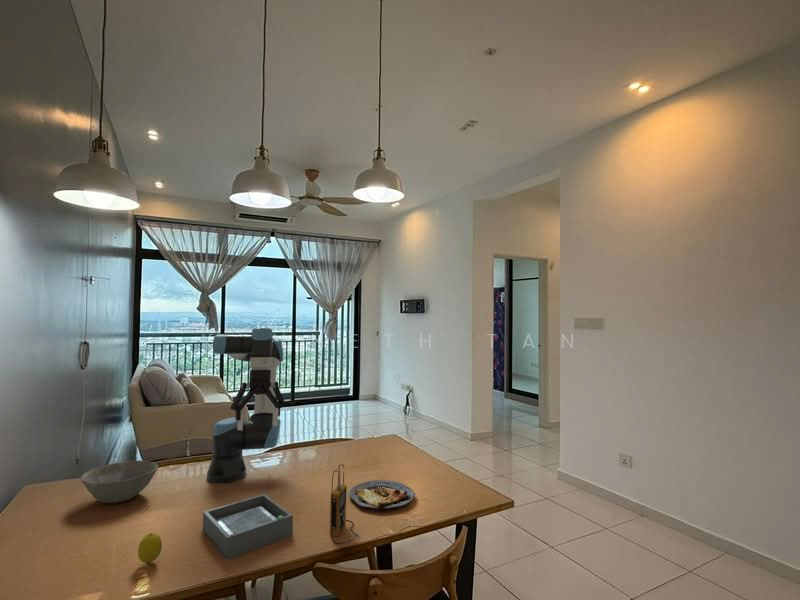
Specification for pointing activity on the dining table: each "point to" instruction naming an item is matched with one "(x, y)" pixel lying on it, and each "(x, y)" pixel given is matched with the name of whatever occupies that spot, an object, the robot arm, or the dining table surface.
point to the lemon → (149, 548)
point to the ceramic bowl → (119, 480)
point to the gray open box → (249, 537)
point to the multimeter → (338, 509)
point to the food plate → (371, 500)
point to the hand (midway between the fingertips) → (258, 427)
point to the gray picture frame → (245, 520)
